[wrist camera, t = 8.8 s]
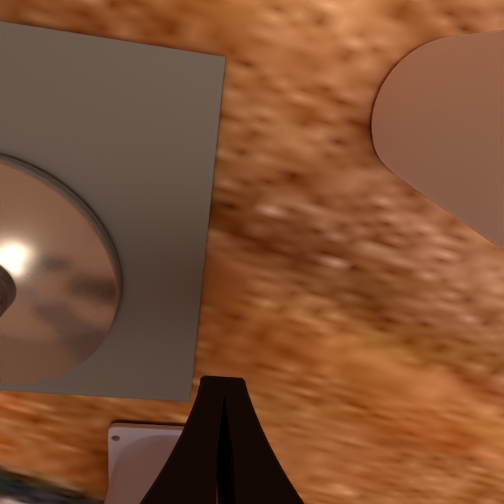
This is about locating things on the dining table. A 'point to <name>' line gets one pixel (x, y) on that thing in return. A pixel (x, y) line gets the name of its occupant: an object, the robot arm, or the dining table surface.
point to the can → (449, 127)
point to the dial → (50, 276)
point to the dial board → (123, 186)
